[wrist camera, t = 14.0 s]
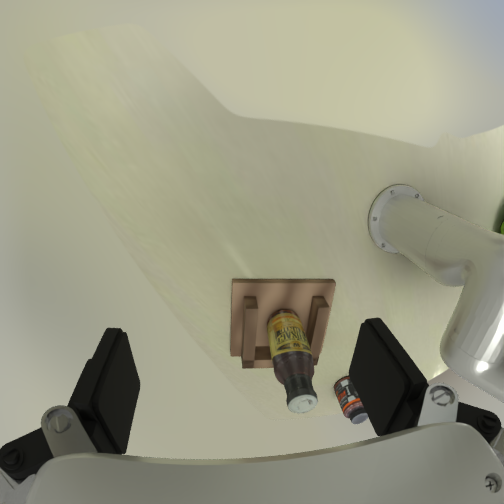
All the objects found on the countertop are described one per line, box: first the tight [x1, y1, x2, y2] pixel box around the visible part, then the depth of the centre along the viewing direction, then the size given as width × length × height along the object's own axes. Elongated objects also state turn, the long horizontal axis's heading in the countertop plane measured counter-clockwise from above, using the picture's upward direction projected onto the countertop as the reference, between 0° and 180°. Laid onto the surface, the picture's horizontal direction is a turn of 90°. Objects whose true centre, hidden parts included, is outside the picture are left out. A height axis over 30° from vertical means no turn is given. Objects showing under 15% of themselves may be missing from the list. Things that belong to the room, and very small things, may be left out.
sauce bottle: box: [267, 310, 318, 413], centre depth 45 cm, size 7×6×20 cm
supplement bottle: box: [334, 377, 368, 424], centre depth 59 cm, size 6×6×11 cm
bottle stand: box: [230, 279, 336, 368], centre depth 53 cm, size 18×16×6 cm
